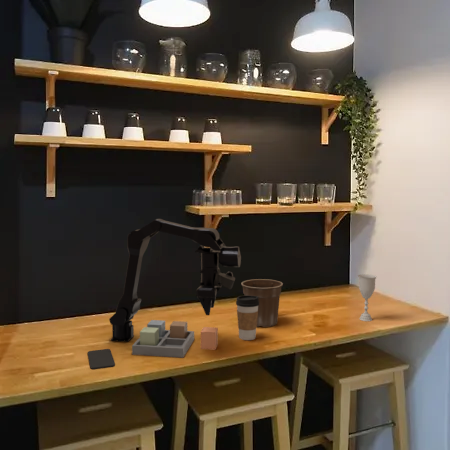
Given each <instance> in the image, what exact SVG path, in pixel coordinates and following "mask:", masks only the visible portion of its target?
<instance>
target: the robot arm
mask: <svg viewBox="0 0 450 450" xmlns="http://www.w3.org/2000/svg"><path fill="white" fill-rule="evenodd" d="M159 232H161V233H164V234H169V235H173V236H177V237H180V238H184V239H189V240H191V241H193V242H194V243H196V244H198V245H199V246H198V248H197V249H195V250H194V253H196V254H200V256H201V257H200V259H201V261H200V267H201V269H200V270H199V273H200V274H201V275H200V278H201V279H200V282H199V286H198V288H197V289H196V290H195V296H196V298H197V299H198V301H199V303H200V305H201V307H202V310H203V312H204V313H205V316H210V313H211V310H212V308H213V309H214V306H215V302H216V297H217V293H218V292H219V291H220V290H221V288H222V286H223V287H224V288H226V289H229V290H232V288H233V286H234V283H235V280H236V277H235V276H234V274H233V273H234V272H232V271H229V270H228V271H227V272H226V273H225V272H223V273H222V272H221V269H220V267H219V264H220V265H221V266H222V267H226V268H228V267H229V268H240V267H241V264H242V261H241V260H242V255H241V251H240V246H226V244H225V243H224V242H223V240H222V238H221V237H220V233H219V231H218V230H217V229H216V228H213V227H192V226H189V225H186V224H185V225H184V224H181V223H177V222H173V221H168V220H164V219H162V218H156V219H153V220H152V221H151V222H149V223H148V224H145V225H144V226H143V227H141V228H139V229H136V230H132V231H130V232H129V233H128V234H127V247H126V248H127V251H128V254H129V257H128V260H127V268H126V273H125V275H126V276H125V280H124V286H123V293H122V295H121V297H120V298H119V300H118V303H117V306H116V309H115V313H114V314H113V315H112V316H111V317H110V318H109V319H108V320H109V323H110V325H112V326H111V327H112V329H111V330H112V331H111V332H112V337H111V338H110V341H112V342H127V343H128V342H129V341H130V340H131V339H132V338H134V336H135V334H134V333H135V331H134V324H133V319H134V316H135V315H136V314H138V312H139V310H141V302H142V298H138V297H139V296H138V293H137V292H138V285H139V279H140V274H141V268H142V263H143V262H142V261H143V256H144V254H145V252H146V251H147V249H148V245H149V242H150V240H151V238H152V237H154V236H155V235H156V234H158V233H159Z"/></svg>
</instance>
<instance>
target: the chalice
mask: <svg viewBox="0 0 450 450" xmlns="http://www.w3.org/2000/svg"><path fill="white" fill-rule="evenodd" d="M357 276H358V289H359V292H360V294H361V296H362V298H363V299H364V306H363V308H364V311H363V312H362V313H361V315H360V317H358V319H359V320H360V321H363V322H372V321H373V319H372V316H371V314H370V313H369V312H368V309H369V306H368V305H369V299H370V298H371V297H372V296H373V294H374V292H375V289H376V279H377V278H378V277H377V276H376V275H373V274H366V273H365V274H363V273H362V274H358V275H357Z"/></svg>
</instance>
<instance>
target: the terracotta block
mask: <svg viewBox="0 0 450 450" xmlns="http://www.w3.org/2000/svg"><path fill="white" fill-rule="evenodd" d="M218 334H219V329H218V327H215V326H213V327H210V326H203V327H202V328H201V331H200V350H211V351H212V350H213V351H214V350H215V351H216V349H217V347H218V342H219V341H218V338H219V335H218Z"/></svg>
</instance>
